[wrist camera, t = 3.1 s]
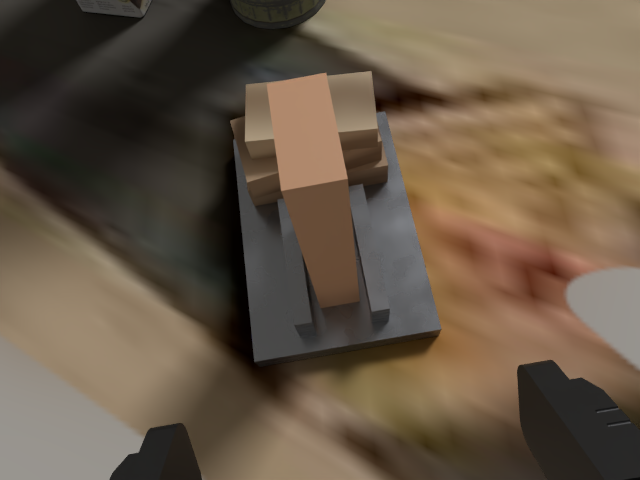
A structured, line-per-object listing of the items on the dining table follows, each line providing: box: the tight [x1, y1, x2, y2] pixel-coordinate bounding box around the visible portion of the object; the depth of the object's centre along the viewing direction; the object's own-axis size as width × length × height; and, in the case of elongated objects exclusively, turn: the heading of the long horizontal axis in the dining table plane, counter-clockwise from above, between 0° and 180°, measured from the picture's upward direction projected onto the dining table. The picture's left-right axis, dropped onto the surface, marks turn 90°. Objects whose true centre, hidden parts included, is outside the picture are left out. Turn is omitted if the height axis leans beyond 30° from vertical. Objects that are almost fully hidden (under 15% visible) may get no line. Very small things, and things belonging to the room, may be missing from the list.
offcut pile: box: [230, 71, 388, 206], centre depth 33 cm, size 6×9×6 cm, turn 99°
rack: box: [233, 112, 441, 367], centre depth 33 cm, size 16×11×4 cm
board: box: [267, 73, 360, 308], centre depth 26 cm, size 5×2×14 cm, turn 9°
